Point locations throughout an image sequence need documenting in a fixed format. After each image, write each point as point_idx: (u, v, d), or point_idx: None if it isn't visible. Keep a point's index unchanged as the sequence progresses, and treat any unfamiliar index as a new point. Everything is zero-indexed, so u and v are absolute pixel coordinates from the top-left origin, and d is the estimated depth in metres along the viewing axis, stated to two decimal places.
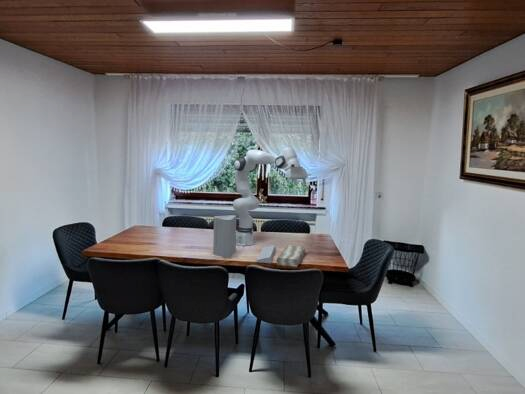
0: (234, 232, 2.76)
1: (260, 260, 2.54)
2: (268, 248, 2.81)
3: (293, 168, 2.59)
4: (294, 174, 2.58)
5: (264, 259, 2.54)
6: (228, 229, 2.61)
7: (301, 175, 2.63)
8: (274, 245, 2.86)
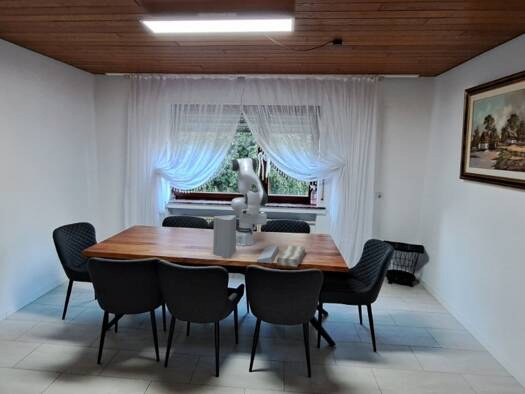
0: (234, 232, 2.76)
1: (261, 260, 2.55)
2: (271, 248, 2.81)
3: (245, 214, 2.69)
4: (245, 220, 2.70)
5: (265, 259, 2.54)
6: (228, 229, 2.61)
7: (255, 222, 2.69)
8: (277, 245, 2.86)
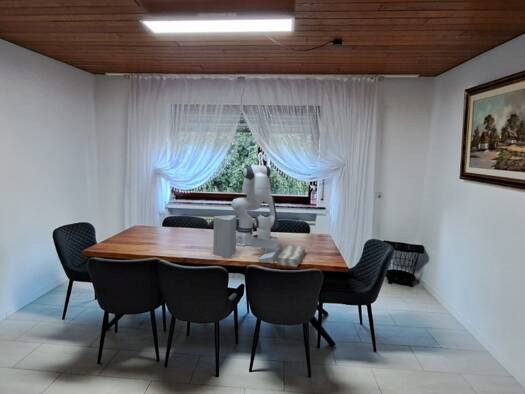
0: (234, 232, 2.76)
1: (262, 259, 2.55)
2: None
3: (256, 238, 2.69)
4: (256, 244, 2.70)
5: (266, 259, 2.54)
6: (228, 229, 2.61)
7: (266, 246, 2.68)
8: None
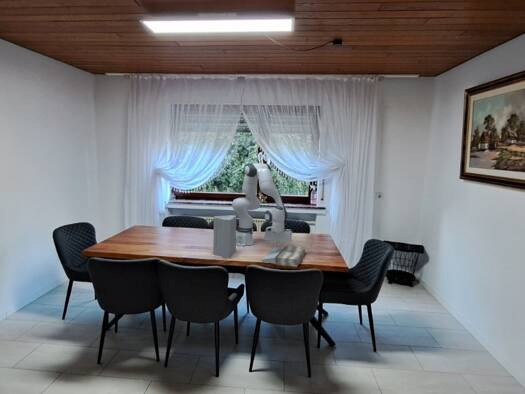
0: (234, 232, 2.76)
1: (265, 260, 2.55)
2: (278, 249, 2.80)
3: (269, 232, 2.66)
4: (270, 237, 2.67)
5: (269, 259, 2.54)
6: (228, 229, 2.61)
7: (279, 239, 2.65)
8: (285, 246, 2.84)
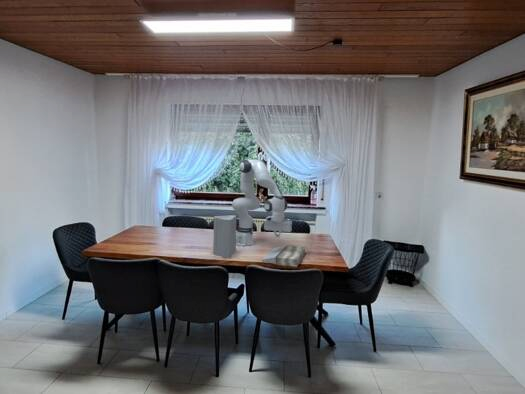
0: (234, 232, 2.76)
1: (265, 260, 2.55)
2: (278, 249, 2.80)
3: (269, 221, 2.65)
4: (270, 227, 2.67)
5: (269, 259, 2.54)
6: (228, 229, 2.61)
7: (279, 229, 2.65)
8: (285, 246, 2.84)
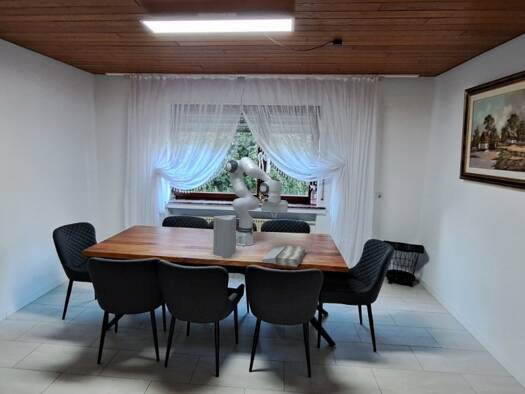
0: (234, 232, 2.76)
1: (265, 260, 2.55)
2: (278, 248, 2.80)
3: (266, 202, 2.76)
4: (267, 208, 2.78)
5: (269, 259, 2.54)
6: (228, 229, 2.61)
7: (276, 210, 2.76)
8: (285, 246, 2.84)
